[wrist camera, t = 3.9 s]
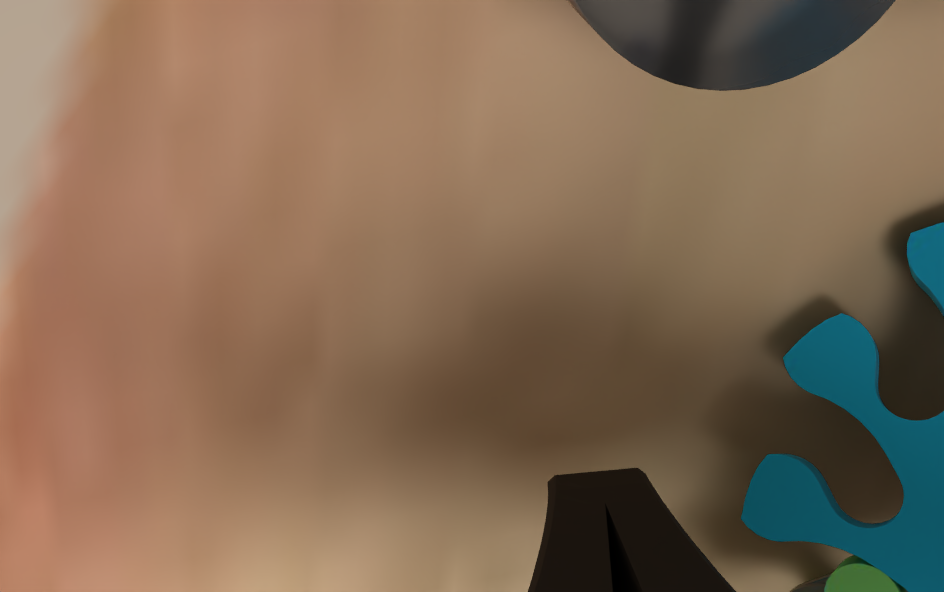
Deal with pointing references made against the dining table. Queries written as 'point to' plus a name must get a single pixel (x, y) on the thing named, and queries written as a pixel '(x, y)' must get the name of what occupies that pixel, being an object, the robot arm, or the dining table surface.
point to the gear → (904, 441)
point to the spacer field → (729, 36)
